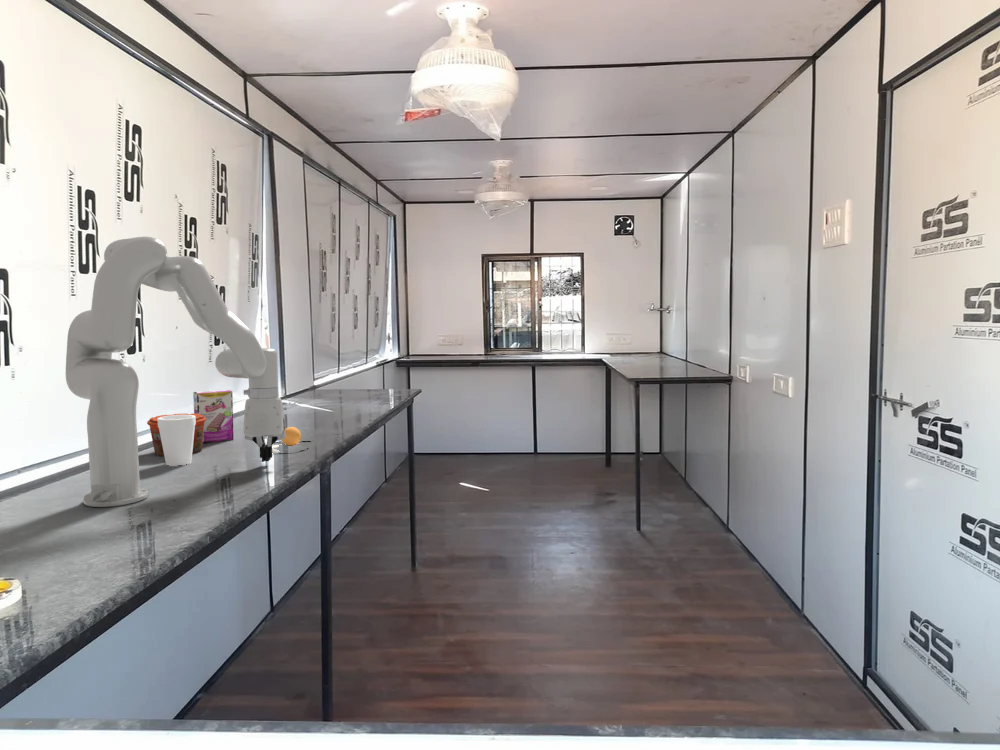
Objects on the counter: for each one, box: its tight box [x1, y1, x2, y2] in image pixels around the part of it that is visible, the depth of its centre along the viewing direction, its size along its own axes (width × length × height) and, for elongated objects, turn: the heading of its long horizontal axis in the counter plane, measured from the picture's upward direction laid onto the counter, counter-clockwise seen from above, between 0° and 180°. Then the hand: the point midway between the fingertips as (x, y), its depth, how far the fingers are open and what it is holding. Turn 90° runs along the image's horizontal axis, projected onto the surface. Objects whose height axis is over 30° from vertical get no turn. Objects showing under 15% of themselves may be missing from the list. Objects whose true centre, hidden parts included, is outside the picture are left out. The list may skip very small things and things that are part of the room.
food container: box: [146, 413, 206, 457], centre depth 200 cm, size 16×16×11 cm
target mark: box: [272, 444, 280, 453], centre depth 205 cm, size 14×14×1 cm
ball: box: [280, 426, 302, 446], centre depth 209 cm, size 6×6×6 cm
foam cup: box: [157, 414, 196, 467], centre depth 185 cm, size 10×9×13 cm
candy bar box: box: [193, 389, 234, 444], centre depth 217 cm, size 11×5×16 cm, turn 130°
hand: (266, 460), depth 183 cm, fingers closed
